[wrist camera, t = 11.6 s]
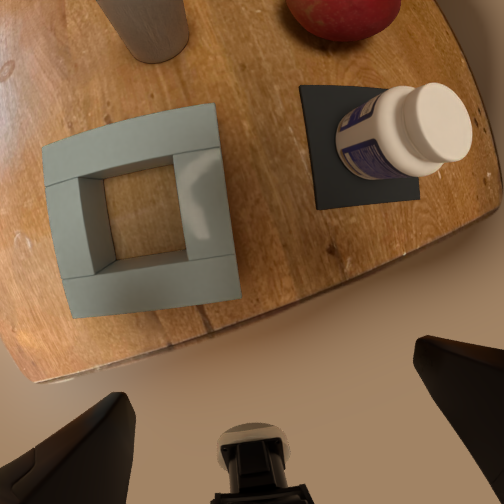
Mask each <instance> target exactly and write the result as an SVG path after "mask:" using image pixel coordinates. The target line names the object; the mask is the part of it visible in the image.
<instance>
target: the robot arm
mask: <svg viewBox="0 0 504 504" xmlns="http://www.w3.org/2000/svg"><path fill="white" fill-rule="evenodd" d="M413 364H414V367H415V369H416V370H417V372H418V374H419V376H420V377H421V379H422V381H423V382H424V384H425V386H426V388H427V389H428V391H429V393H430V395H431V397H432V398H433V400H434V401H435V403H436V404H437V406H438V407H439V409H440V410H441V411H442V413H443V414H444V416H445V417H446V418H447V420H448V421H449V423H450V424H451V426H452V427H453V428H454V430H455V431H456V433H457V434H458V435H459V437H460V439H461V440H462V442H463V443H464V445H465V446H466V447H467V449H468V451H469V452H470V454H471V455H472V457H473V458H474V460H475V461H476V463H477V465H478V466H479V468H480V469H481V471H482V472H483V474H484V476H485V477H486V479H487V480H488V482H489V484H490V485H491V487H492V489H493V491H494V492H495V494H496V496H497V497H498V499H499V501H500V502H501V504H504V350H502V349H497V348H491V347H485V346H480V345H475V344H469V343H464V342H459V341H454V340H449V339H444V338H439V337H435V336H430V335H426V336H424V337H421V338H418V339H417V340H416V343H415V350H414V357H413ZM135 424H136V415H135V412H134V409H133V407H132V405H131V403H130V401H129V399H128V396H127V395H126V393H124V392H112V393H110V394H109V395H108V396H106V397H105V398H103V399H102V400H101V401H99V402H98V403H97V404H95V405H94V406H93V407H91V408H90V409H88V410H87V411H85V412H84V413H83V414H81V415H80V416H78V417H77V418H76V419H74V420H73V421H71V422H70V423H68V424H67V425H66V426H64V427H63V428H61V429H60V430H58V431H57V432H56V433H54V434H53V435H51V436H50V437H48V438H47V439H45V440H44V441H43V442H41V443H40V444H38V445H37V446H36V447H35V448H32V449H31V450H29V451H28V452H26V453H25V454H23V455H22V456H20V457H19V458H17V459H15V460H14V461H12V462H10V463H8V464H6V465H5V466H3V467H1V468H0V504H126V498H127V492H128V485H129V479H130V473H131V468H132V462H133V452H134V437H135ZM220 451H221V454H222V457H223V459H224V462H225V465H226V468H227V470H228V473H229V478H230V492H231V493H227V494H226V493H224V494H221V493H215V499H213V500H212V501H211V503H210V504H314V502H313V500H312V498H311V496H310V494H309V491H308V489H307V487H306V485H305V484H300V485H299V486H293V487H288V485H287V481H286V478H285V473H284V470H285V460H284V451H283V443H282V439H281V438H280V437H274V438H269V439H263V440H256V441H250V442H242V443H234V444H225V445H221V446H220Z"/></svg>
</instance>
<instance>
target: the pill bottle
mask: <svg viewBox="0 0 504 504" xmlns="http://www.w3.org/2000/svg"><path fill="white" fill-rule="evenodd" d="M471 142H472V126H471V122H470V118H469V115H468V112H467V110H466V108H465V106H464V104H463V103H462V101H461V100H460V98H459V97H458V96H457V95H456V94H455V93H454V92H453V91H452V90H451V89H449V88H448V87H446V86H444V85H442V84H439V83H429V84H426V85H423V86H421V87H418V88H413V87H409V86H397V87H393V88H391V89H389V90H387V91H384V92H383V93H381V94H379V95H378V96H376V97H374V98H373V99H371V100H369V101H368V102H366V103H364V104H362V105H361V106H359V107H357V108H356V109H354V110H352V111H351V112H349V113H348V114H347V115H345V116H344V117H343V119H342V120H341V121H340V123H339V125H338V128H337V132H336V147H337V151H338V154H339V156H340V158H341V160H342V162H343V163H344V165H345V166H346V167H347V168H348V169H349V170H350V171H351V172H352V173H354V174H355V175H357V176H359V177H361V178H365V179H370V180H376V179H389V178H407V177H421V176H427V175H430V174H432V173H434V172H436V171H437V170H438V169H439V168H440V167H441V166H442V165H443V163H446V162H455V161H459V160H461V159H462V158H464V157H465V156H466V154H467V153H468V151H469V149H470V146H471Z"/></svg>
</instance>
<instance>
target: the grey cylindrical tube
mask: <svg viewBox="0 0 504 504" xmlns="http://www.w3.org/2000/svg"><path fill="white" fill-rule="evenodd" d="M96 1H97V3H98V4H99V6H100V7H101V9H102V10H103V12H104V13H105V15H106V16H107V18H108V19H109V21H110V22H111V24H112V25H113V27H114V28H115V30H116V31H117V33H118V34H119V36H120V37H121V39H122V40H123V42H124V43H125V45H126V46H127V48H128V49H129V51H130V52H131V54H132V55H133V56H134V57H135V58H136V59H137V60H139V61H141V62H145V63H159V62H163V61H166V60H169V59H171V58H172V57H174V56H176V55H177V54H178V53H179V52H180V51H181V50H182V49H183V48H184V47H185V45H186V43H187V41H188V37H189V31H188V24H187V19H186V14H185V8H184V3H183V0H96Z"/></svg>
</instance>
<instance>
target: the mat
mask: <svg viewBox="0 0 504 504" xmlns="http://www.w3.org/2000/svg"><path fill="white" fill-rule="evenodd" d="M387 90H389V89H381V88H370V87H357V86H336V85H300V86H299V91H300V96H301V102H302V108H303V114H304V120H305V126H306V132H307V139H308V146H309V152H310V160H311V167H312V175H313V183H314V191H315V200H316V209H317V210H324V209H332V208H341V207H350V206H359V205H368V204H378V203H388V202H398V201H409V200H420V190H419V179H418V177H407V178H389V179H376V180H370V179H365V178H361V177H359V176H357V175H355V174H354V173H352V172H351V171H350V170H349V169H348V168H347V167H346V166H345V165H344V163H343V162H342V160H341V158H340V156H339V154H338V151H337V147H336V132H337V128H338V125H339V123H340V121H341V120H342V119H343V117H344V116H345V115H347V114H348V113H349V112H351V111H352V110H354V109H356V108H357V107H359V106H361V105H362V104H364V103H366V102H368V101H369V100H371V99H373V98H374V97H376V96H378V95H379V94H381V93H383V92H384V91H387Z"/></svg>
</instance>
